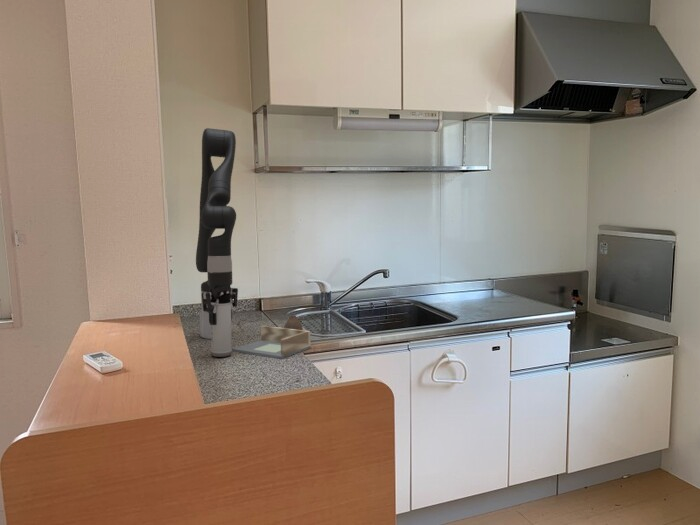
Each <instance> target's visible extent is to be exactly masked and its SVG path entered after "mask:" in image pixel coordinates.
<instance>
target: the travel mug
mask: <svg viewBox="0 0 700 525" xmlns="http://www.w3.org/2000/svg"><path fill="white" fill-rule="evenodd" d="M229 293H230V292H229ZM217 299H219V306H217V310H216V319H217V324H216V325H211V339H210V344H211V345H210V350H211V353H210V354H211V356H212V357H215V358H216V357H217V358H222V357H229V356H231V355H232V352H233V351H232V349H233V348H232V344H233V343H232V321H231V300H230V299H231V293H230V294H229V295H223V296H222V297H216V299H214V297H213V296H212V298H211V300H212V301H211V302H212V303H216V301H217ZM213 307H214V306H212V309H213Z"/></svg>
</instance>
